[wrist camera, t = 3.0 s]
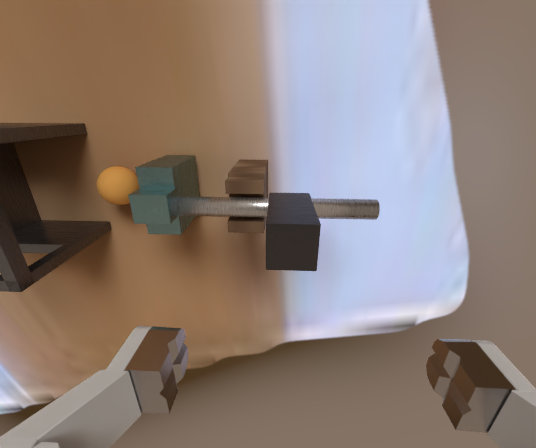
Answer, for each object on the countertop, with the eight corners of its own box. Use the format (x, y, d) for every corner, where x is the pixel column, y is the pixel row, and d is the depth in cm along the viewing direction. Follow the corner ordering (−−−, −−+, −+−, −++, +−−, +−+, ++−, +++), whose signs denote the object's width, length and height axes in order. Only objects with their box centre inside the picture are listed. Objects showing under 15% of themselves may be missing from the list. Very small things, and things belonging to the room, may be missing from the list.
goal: (84, 123, 27) (-52, 131, 16) (111, 229, 32) (21, 291, 21) (-5, 123, 27) (-198, 130, 16) (35, 227, 32) (-93, 288, 21)
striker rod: (356, 157, 26) (429, 200, 13) (348, 212, 29) (405, 294, 16) (166, 155, 27) (64, 194, 14) (174, 209, 29) (93, 285, 16)
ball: (136, 205, 30) (116, 217, 27) (105, 182, 29) (80, 193, 26) (153, 179, 29) (135, 189, 25) (121, 155, 28) (98, 161, 24)
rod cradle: (267, 160, 28) (263, 177, 20) (267, 204, 30) (263, 236, 22) (239, 159, 28) (224, 177, 20) (241, 204, 30) (228, 235, 22)
